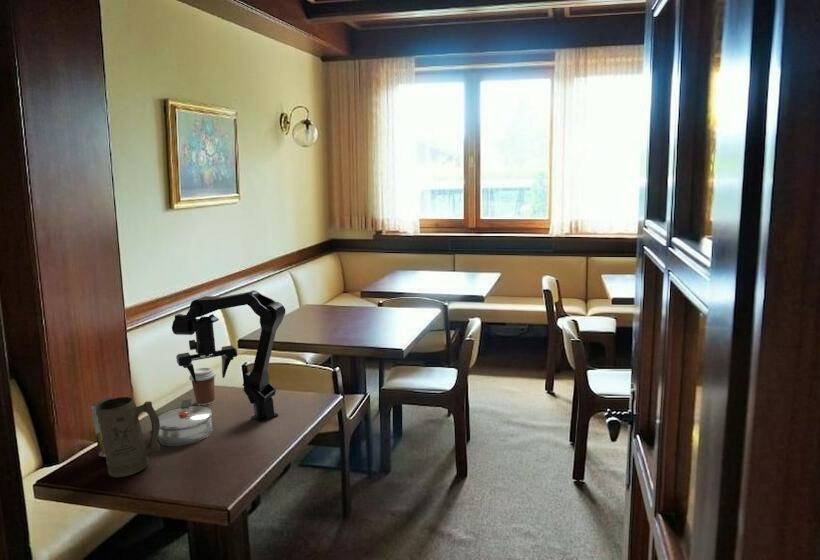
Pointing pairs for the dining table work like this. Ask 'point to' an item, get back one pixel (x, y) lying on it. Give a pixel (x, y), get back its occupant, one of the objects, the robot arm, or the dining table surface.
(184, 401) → the cooker lid
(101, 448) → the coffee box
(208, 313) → the robot arm
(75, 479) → the dining table surface
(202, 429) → the cooker pot
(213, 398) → the coffee cup
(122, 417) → the beer stein
